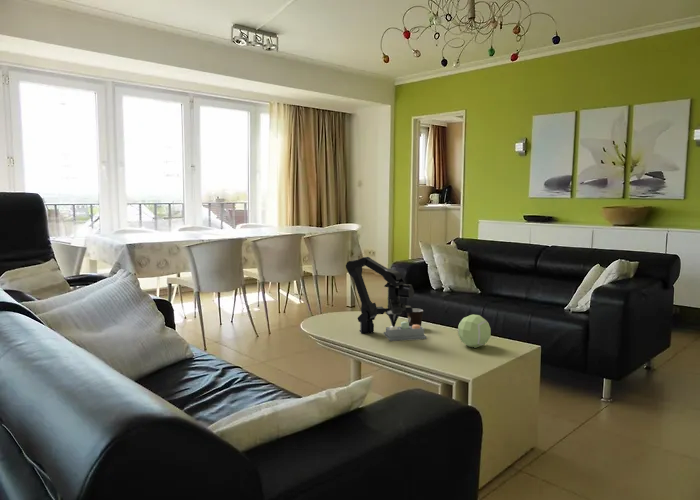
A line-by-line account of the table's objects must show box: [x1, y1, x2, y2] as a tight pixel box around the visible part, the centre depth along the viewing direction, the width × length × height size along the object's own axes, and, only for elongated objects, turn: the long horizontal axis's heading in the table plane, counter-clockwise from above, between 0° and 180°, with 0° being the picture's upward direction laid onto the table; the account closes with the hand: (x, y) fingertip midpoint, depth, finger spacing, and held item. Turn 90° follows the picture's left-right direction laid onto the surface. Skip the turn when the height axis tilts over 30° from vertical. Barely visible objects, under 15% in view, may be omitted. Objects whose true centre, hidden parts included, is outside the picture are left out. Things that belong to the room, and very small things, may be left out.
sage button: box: [400, 320, 409, 329], centre depth 266 cm, size 4×4×4 cm
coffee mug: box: [406, 308, 424, 327], centre depth 285 cm, size 12×9×10 cm
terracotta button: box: [412, 325, 420, 329], centre depth 267 cm, size 4×4×4 cm
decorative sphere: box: [457, 314, 492, 349], centre depth 248 cm, size 15×15×15 cm
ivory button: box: [389, 325, 398, 330], centre depth 265 cm, size 4×4×4 cm
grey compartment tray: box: [383, 325, 428, 342], centre depth 267 cm, size 19×13×4 cm
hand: (393, 326), depth 265 cm, fingers closed, pressing on ivory button
